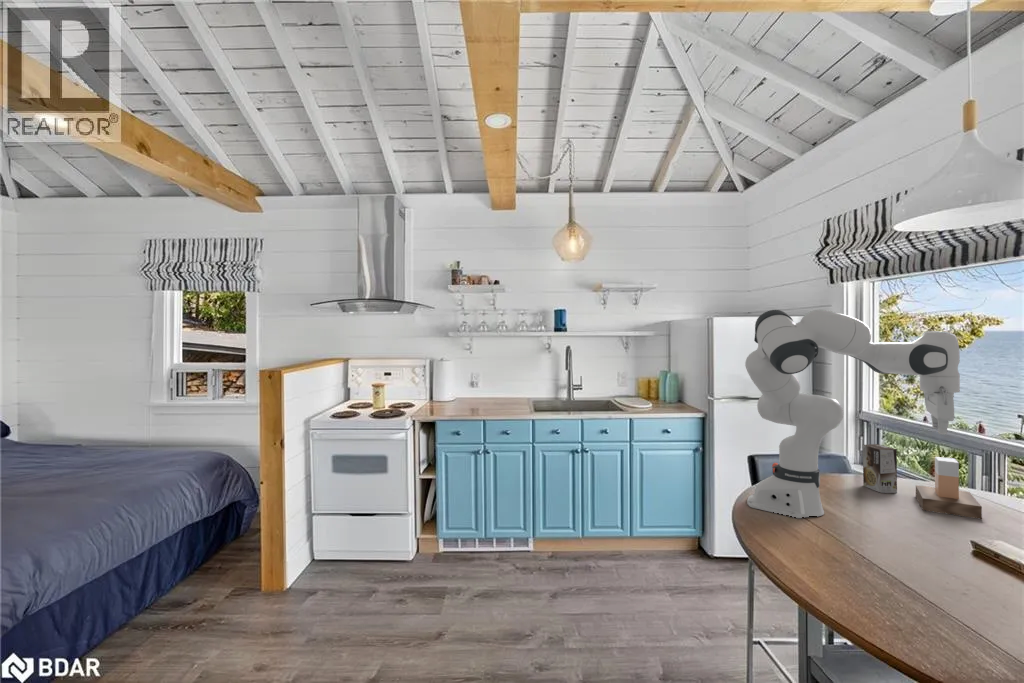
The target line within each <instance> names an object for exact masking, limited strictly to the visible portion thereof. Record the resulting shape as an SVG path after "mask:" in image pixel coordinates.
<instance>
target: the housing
mask: <svg viewBox="0 0 1024 683" xmlns="http://www.w3.org/2000/svg"><path fill="white" fill-rule="evenodd" d="M959 466H960V463H959V461H958V460H957V459H956V458H952V457H942V456H941V457H940V456H935V457H934V488H935V492H936V493H937V495H938V496H940V497H947V498H954V499H959V491H960V489H959V488H960V486H959V485H960V483H959V482H960V478H959V476H960V475H959V474H960V473H959V470H960V469H959V468H960V467H959Z"/></svg>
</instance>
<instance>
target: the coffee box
mask: <svg viewBox="0 0 1024 683" xmlns="http://www.w3.org/2000/svg"><path fill="white" fill-rule="evenodd" d="M897 451H898V449H896V448H894V447H890V446H887V445H883V444H879V443H875V444H874V443H871V444H862V471H863V472H862V473H863V475H862V479H863V480H862V481H863V483H862V485H863V486H864V487H866V488H868V489H871V490H873V491H876V492H878V493H879V494H885V493H886V494H897V493H898V467H897V466H898V461H897V460H898V458H897V457H898V455H897V454H898V453H897Z"/></svg>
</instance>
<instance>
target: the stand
mask: <svg viewBox="0 0 1024 683" xmlns="http://www.w3.org/2000/svg"><path fill="white" fill-rule="evenodd" d="M915 498H916V500H917V501H918V503H919V506H920V508H921V509H922V511H925V510H926V511H927V512H931V511H934V512H933V513H938V512H940V514H945V513H947V514H946V515H951V514H953V515H954V516H958V515H960V516H959V517H964V516H965V517H966V518H971V517H972V519H978V518H980V519H979V520H982V519H983V518H982V517H983V516H982V515H983V510H982V508H983V507H982V505H981V503H979V501H978V500H977V499H976V498H975V497H974V496H973V494H971V492H970V491H963V490H959V499H954V498H947V497H940V496H938V495H937V493H936V492H935V486H934V487H933V486H931V487H930V486H924V485H917V484H916V485H915Z"/></svg>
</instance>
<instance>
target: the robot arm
mask: <svg viewBox="0 0 1024 683" xmlns="http://www.w3.org/2000/svg"><path fill="white" fill-rule="evenodd" d="M871 340H872V332H871V329H870V327H869V325H868V324H866V323H865V322H863V321H861V320H860V319H857V318H855V317H853V316H850V315H846V314H844V313H839V312H837V311H831V310H823V309H814V310H813V309H812V310H810V311H809V312H807V313H805V314H804V315H803V317H801V319H800V321H798V322H796V323H795V322H794V319H793V318H792V317H791V316H790V315H789V314H788V313H786V312H784V311H783V310H781V309H770V310H767V311H766V312H763V313H761V314H760V315H759V316H758V317H757V319H756V321H755V324H754V342H755V343H757V345H758V346H757V348H756V349H755V350H754V351H751V352H750V353H749V354H748V355H747V357H746V358H745V362H744V364H745V365H744V366H745V369H746V371H747V374H748V376H749V378H750V379H751V381H752V382H753V384H754V385H755V387H756V388H757V389H758V391H759V392H760V393H761V395H760V397H759V398H758V401H757V405H756V406H757V411H758V414H759V416H760V417H761V418H762V420H763V419H764V420H766V421H769V422H772V423H775V424H781V425H788V426H792V427H793V426H794V427H795V432H794V434H793V435H790V436H788V437H785V438H783V439H782V440H781V441H780V443H779V446H778V453H779V454H778V457H779V459H778V460H779V463H778V462H773V464H772V466H771V467H772V475H771V476H769V477H767V478H764V479H763V480H761V481H759V482H758V483H757V484H756V486H755V488H754V492H753V493H752V494H750V495H749V496H748V497H747V500H746V503H747V504H746V505H747V506H748V507H749V508H753V509H756V510H761V511H764V512H769V513H773V512H774V514H777V513H779V514H778V515H781V514H783V516H786V515H789V516H788V517H790V516H792V517H791V518H794V517H796V518H795V519H803V518H802V517H804V518H810V517H809V516H817V517H820V516H821V517H822V516H824V514H825V511H824V508H823V505H822V500H821V495H820V494H821V493H820V485H821V474H820V469H819V452H820V451H819V450H820V446H821V444H822V443H821V442H822V441H823V440H824V438H825V437H826V435H827V434H828V433H830V432H831V431H833V430H834V429H836V428H837V427H839V426H840V425H841V423H842V422H843V419H844V410H843V407H842V405H841V404H840V402H839V401H838V400H837V399H835V398H832V397H827V396H824V395H821V394H812V393H811V394H810V393H809V394H808V393H800V392H801V383H800V381H799V379H798V378H797V376H796V375H795V374H798V373H800V372H803V371H804V370H806V369H807V368H808V367H809V366H810V365H811V364H812V363H813V361H814V359H815V358H817V356H818V355H819V348H820V349H824V350H826V351H829V352H832V353H835V354H840V355H842V356H843V355H844V356H849V357H851V358H853V359H857V360H858V361H861V362H863V363H864V364H865V365H866V366H868V367H869V368H870V369H871V370H872V371H874V372H875V373H876V374H877V373H878V374H887V375H888V374H892V375H893V374H895V375H907V376H919V390H920V391H921V392H923V397H924V403H925V404H924V405H925V409H926V411H927V413H929V414H930V417H931V422H932V428H933V429H934V430H937V432H938V434H939V435H942V436H943V435H948V427H949V422H953V421H954V420H955V401H954V397H955V395H954V394H956V393H960V389H961V387H960V386H961V385H960V384H961V380H960V373H959V364H960V363H961V362H960V346H959V340H958V338H957V336H956V335H955V334H954V333H952V332H948V331H939V330H928V331H924V332H923V333H922V335H921V336H920V337H919V338H917V339H915V340H914V341H911V342H889V341H879V342H878V341H877V342H871Z"/></svg>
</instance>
